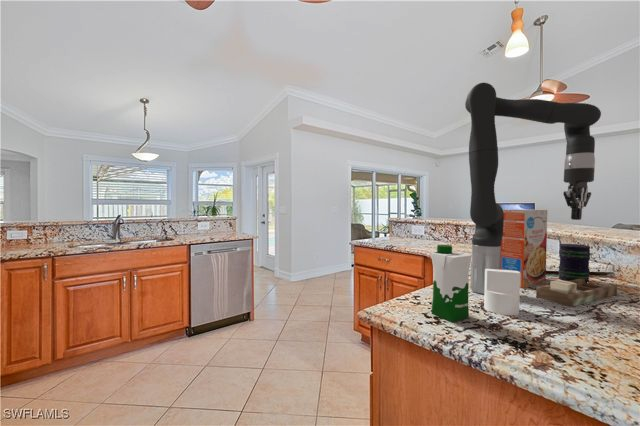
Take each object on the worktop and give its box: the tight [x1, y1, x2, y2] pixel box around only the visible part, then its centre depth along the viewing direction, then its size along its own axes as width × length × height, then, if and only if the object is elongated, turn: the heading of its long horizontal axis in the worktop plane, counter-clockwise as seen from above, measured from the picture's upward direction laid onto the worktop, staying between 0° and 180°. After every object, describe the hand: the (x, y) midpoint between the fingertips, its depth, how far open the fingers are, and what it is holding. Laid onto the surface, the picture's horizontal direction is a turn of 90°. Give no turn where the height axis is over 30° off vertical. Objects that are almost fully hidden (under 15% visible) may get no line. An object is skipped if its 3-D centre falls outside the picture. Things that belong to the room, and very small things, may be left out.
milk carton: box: [430, 244, 472, 323], centre depth 81 cm, size 9×9×20 cm
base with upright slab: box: [483, 269, 521, 316], centre depth 86 cm, size 9×9×12 cm
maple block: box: [549, 279, 577, 294], centre depth 95 cm, size 5×5×4 cm
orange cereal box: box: [501, 209, 548, 290], centre depth 118 cm, size 23×8×30 cm, turn 124°
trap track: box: [535, 278, 618, 308], centre depth 99 cm, size 30×10×4 cm, turn 114°
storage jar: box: [558, 243, 591, 283], centre depth 120 cm, size 10×10×15 cm
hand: (576, 219), depth 95 cm, fingers closed
